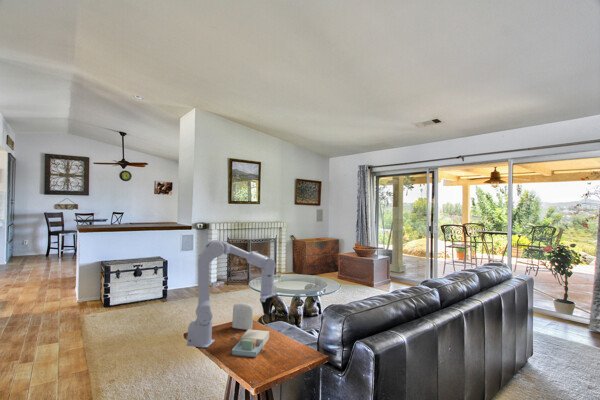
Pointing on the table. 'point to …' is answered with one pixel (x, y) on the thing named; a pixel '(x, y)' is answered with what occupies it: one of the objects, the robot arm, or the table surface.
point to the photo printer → (242, 316)
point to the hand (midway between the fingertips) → (266, 313)
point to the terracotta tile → (254, 343)
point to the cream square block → (256, 336)
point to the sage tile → (247, 344)
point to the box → (239, 352)
